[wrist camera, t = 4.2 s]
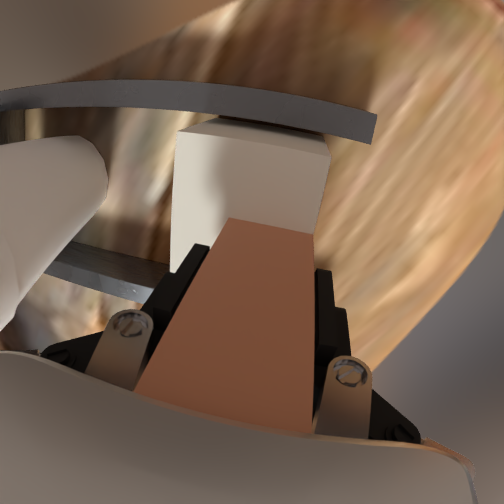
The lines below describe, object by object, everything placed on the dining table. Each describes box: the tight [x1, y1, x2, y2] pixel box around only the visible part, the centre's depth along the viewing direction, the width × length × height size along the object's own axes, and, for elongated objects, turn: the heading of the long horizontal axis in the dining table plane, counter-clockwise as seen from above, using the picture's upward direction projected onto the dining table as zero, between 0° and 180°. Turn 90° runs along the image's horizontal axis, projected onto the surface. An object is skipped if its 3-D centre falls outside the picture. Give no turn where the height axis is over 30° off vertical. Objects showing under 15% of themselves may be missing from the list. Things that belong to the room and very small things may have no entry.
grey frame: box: [0, 79, 377, 304], centre depth 17 cm, size 14×28×8 cm, turn 82°
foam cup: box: [0, 135, 108, 331], centre depth 15 cm, size 10×9×13 cm
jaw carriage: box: [134, 118, 332, 434], centre depth 12 cm, size 10×6×18 cm, turn 172°
